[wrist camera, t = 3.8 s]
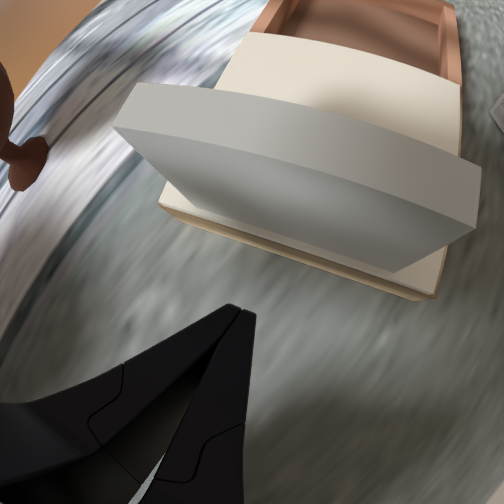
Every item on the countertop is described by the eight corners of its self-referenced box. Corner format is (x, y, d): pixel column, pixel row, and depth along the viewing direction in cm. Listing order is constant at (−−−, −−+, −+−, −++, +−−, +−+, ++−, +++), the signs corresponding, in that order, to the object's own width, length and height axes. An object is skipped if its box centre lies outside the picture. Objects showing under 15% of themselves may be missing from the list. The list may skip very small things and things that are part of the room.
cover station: (414, 301, 15) (435, 298, 12) (180, 221, 18) (158, 205, 15) (446, 28, 18) (453, 4, 15) (297, -10, 21) (294, -34, 18)
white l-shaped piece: (428, 294, 12) (537, 269, 5) (163, 205, 15) (64, 128, 8) (456, 91, 14) (500, -3, 6) (249, 38, 17) (221, -59, 9)
